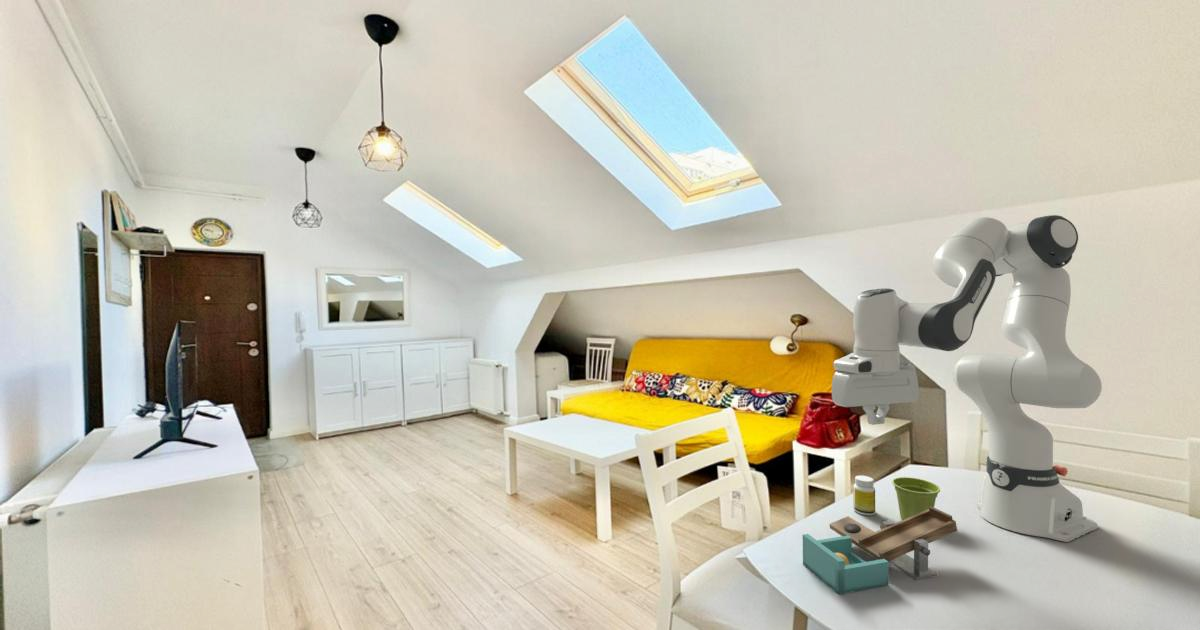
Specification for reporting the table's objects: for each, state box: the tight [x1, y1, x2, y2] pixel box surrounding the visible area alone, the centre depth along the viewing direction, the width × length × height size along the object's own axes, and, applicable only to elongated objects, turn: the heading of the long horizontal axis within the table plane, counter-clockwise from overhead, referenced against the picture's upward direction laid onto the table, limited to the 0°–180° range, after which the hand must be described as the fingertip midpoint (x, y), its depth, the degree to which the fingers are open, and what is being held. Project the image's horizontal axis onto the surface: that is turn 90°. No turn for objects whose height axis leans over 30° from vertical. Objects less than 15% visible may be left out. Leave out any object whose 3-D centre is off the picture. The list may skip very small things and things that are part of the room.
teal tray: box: [802, 533, 890, 595], centre depth 90 cm, size 11×10×6 cm
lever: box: [829, 506, 958, 561], centre depth 97 cm, size 18×14×3 cm
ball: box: [835, 553, 849, 565], centre depth 89 cm, size 4×4×4 cm
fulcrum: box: [879, 520, 938, 581], centre depth 93 cm, size 5×10×6 cm, turn 13°
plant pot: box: [891, 476, 941, 521], centre depth 110 cm, size 9×9×9 cm
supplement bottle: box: [852, 475, 876, 517], centre depth 115 cm, size 5×5×8 cm
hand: (876, 423), depth 104 cm, fingers closed
